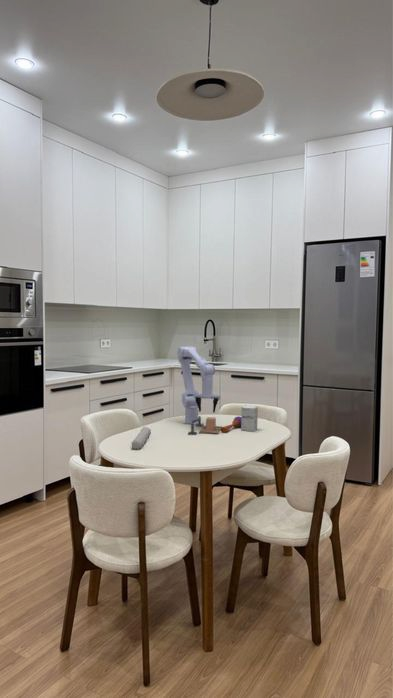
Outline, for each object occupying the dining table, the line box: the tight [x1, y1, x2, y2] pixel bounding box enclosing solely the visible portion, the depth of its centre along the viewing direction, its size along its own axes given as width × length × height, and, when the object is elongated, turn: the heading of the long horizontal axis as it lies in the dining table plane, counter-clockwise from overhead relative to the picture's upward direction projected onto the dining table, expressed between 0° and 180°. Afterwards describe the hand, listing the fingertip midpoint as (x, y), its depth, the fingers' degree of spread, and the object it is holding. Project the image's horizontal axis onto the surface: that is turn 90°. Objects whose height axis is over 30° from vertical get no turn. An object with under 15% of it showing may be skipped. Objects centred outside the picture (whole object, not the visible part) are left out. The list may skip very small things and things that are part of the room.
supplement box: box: [240, 404, 259, 432], centre depth 254 cm, size 7×7×13 cm
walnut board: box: [198, 425, 223, 435], centre depth 253 cm, size 16×10×1 cm, turn 169°
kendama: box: [220, 416, 241, 434], centre depth 256 cm, size 6×6×20 cm
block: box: [205, 417, 217, 430], centre depth 252 cm, size 4×4×6 cm
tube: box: [131, 426, 152, 450], centre depth 226 cm, size 5×5×25 cm
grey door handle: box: [187, 415, 205, 436], centre depth 254 cm, size 24×4×5 cm, turn 169°
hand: (206, 411), depth 256 cm, fingers open, 7 cm apart
